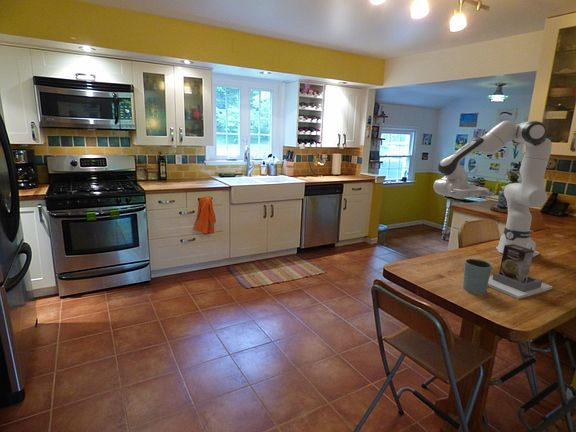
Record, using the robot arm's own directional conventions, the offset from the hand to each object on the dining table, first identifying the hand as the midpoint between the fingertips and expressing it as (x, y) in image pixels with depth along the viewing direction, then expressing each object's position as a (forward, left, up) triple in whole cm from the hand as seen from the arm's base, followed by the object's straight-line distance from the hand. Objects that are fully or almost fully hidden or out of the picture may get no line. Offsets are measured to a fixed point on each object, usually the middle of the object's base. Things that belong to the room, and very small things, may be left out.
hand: (485, 195), depth 169 cm
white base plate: (+10, +26, -35) cm, 45 cm away
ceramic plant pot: (+31, +22, -35) cm, 52 cm away
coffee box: (+11, +26, -34) cm, 44 cm away
